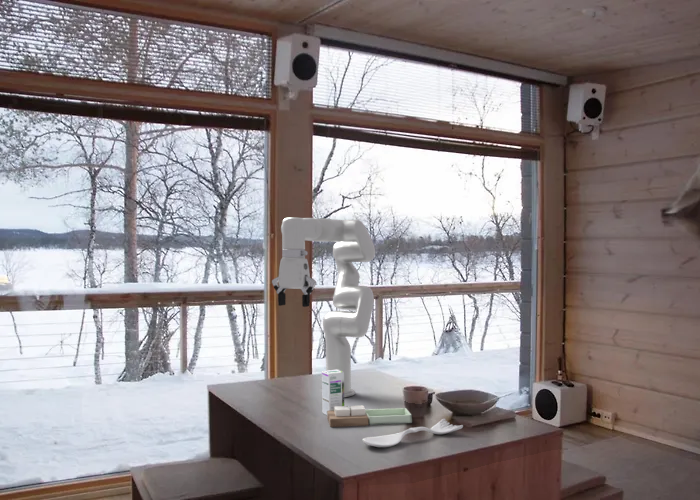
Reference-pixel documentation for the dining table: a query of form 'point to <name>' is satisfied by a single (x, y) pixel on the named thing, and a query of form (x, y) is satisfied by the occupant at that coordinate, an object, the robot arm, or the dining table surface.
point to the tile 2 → (357, 410)
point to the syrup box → (332, 390)
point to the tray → (388, 416)
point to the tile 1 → (342, 411)
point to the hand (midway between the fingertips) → (293, 305)
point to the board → (346, 420)
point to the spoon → (396, 438)
